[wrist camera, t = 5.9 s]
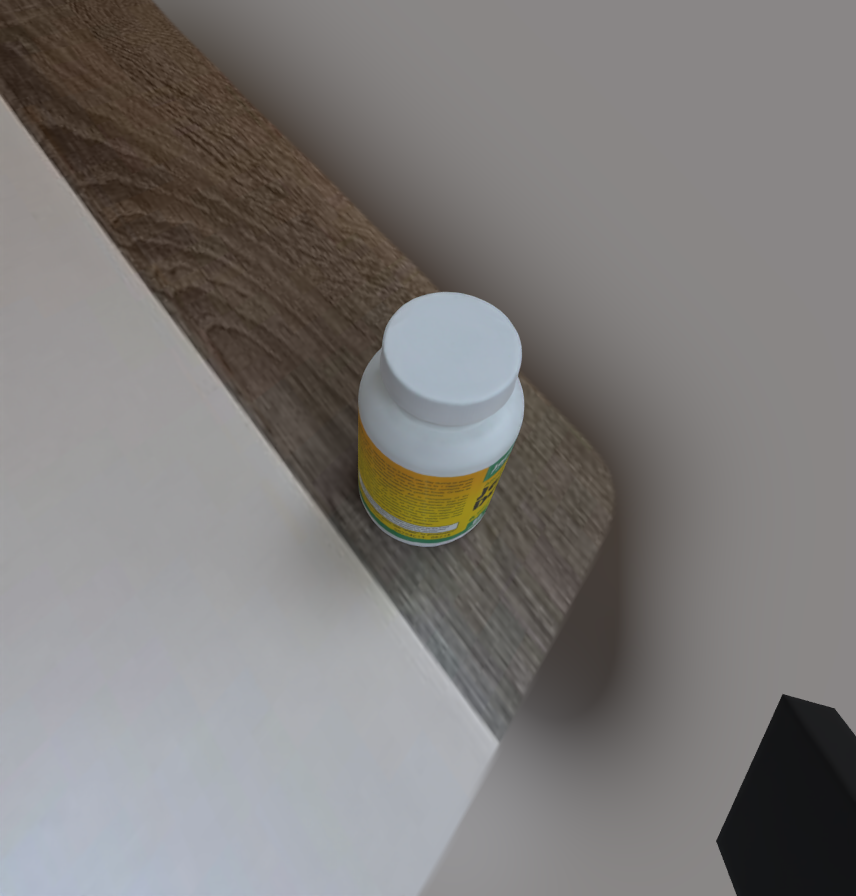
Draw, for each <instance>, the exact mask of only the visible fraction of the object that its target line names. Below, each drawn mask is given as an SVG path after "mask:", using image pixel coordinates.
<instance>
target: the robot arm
mask: <svg viewBox="0 0 856 896" xmlns="http://www.w3.org/2000/svg"><path fill="white" fill-rule="evenodd" d="M716 842H717V844H718V847H719V850H720V852H721V855H722V857H723V860H724V863H725V865H726V868H727V870H728V873H729V876H730V879H731V881H732V883H733V887H734V889H735V892H736V894H737V896H856V736H855V735H854V733H853V732H852V731H851V729H850V728H849V727H848V725H847V724H846V723H845V721H844V720H843V719H842V718H841V716H840V715H839V714H838V712H837V711H836V710H835V709H834V708H831V707H827V706H824V705H820V704H816V703H813V702H809V701H805V700H802V699H799V698H795V697H791V696H788V695H784V694H783V695H782V697H781V699H780V701H779V704H778V706H777V708H776V710H775V712H774V715H773V717H772V719H771V721H770V724H769V726H768V728H767V730H766V732H765V734H764V737H763V739H762V741H761V743H760V745H759V748H758V750H757V752H756V754H755V756H754V759H753V761H752V763H751V765H750V768H749V770H748V772H747V774H746V776H745V779H744V781H743V783H742V785H741V787H740V790H739V792H738V794H737V797H736V798H735V801H734V803H733V805H732V808H731V810H730V812H729V814H728V816H727V818H726V821H725V823H724V825H723V827H722V829H721V832H720V834H719V836H718V838H717V840H716Z"/></svg>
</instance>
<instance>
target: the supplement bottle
mask: <svg viewBox="0 0 856 896" xmlns="http://www.w3.org/2000/svg"><path fill="white" fill-rule="evenodd" d="M521 360H522V348H521V342H520V339H519V336H518V333H517V331H516V330H515V328H514V326H513V325H512V323H511V322H510V320H509V319H508V318H507V317H506V316H505V315H504V314H503V313H502V312H501V311H500V310H499V309H497V308H496V307H494V306H493V305H492V304H490V303H487V302H486V301H484V300H481V299H479V298H477V297H474V296H471V295H467V294H463V293H455V292H438V293H432V294H427V295H423V296H420V297H417V298H415V299H413V300H411V301H409V302H408V303H406V304H404V305H403V306H402V307H401V308H400V309H399V310H398V311H397V312H396V313H395V314H394V315H393V316H392V318H391V319H390V321H389V322H388V324H387V326H386V329H385V332H384V335H383V342H382V348H381V349H380V350H379V351H378V352H377V353H376V354H375V355H374V357H373V358H372V359H371V361H370V362H369V364H368V366H367V367H366V369H365V371H364V374H363V376H362V379H361V382H360V388H359V396H358V485H359V493H360V498H361V500H362V503H363V505H364V507H365V509H366V511H367V513H368V514H369V516H370V518H371V519H372V520H373V522H374V523H375V524H376V525H377V526H378V527H379V528H380V529H381V530H382V531H384V532H385V533H386V534H387V535H389V536H391V537H392V538H394V539H396V540H399V541H401V542H403V543H406V544H410V545H416V546H423V547H433V546H438V545H442V544H446V543H450V542H452V541H454V540H456V539H458V538H460V537H462V536H464V535H465V534H466V533H468V532H469V531H471V530H472V529H473V528H474V527H475V526H476V525H477V524H478V523H479V521H480V520H481V518H482V517H483V515H484V513H485V511H486V509H487V507H488V505H489V502H490V500H491V497H492V495H493V493H494V490H495V488H496V485H497V483H498V481H499V478H500V476H501V474H502V471H503V469H504V467H505V464H506V462H507V460H508V458H509V455H510V453H511V450H512V448H513V446H514V443H515V441H516V438H517V436H518V434H519V431H520V428H521V425H522V421H523V416H524V396H523V390H522V387H521V383H520V381H519V378H518V373H519V370H520V365H521Z"/></svg>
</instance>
